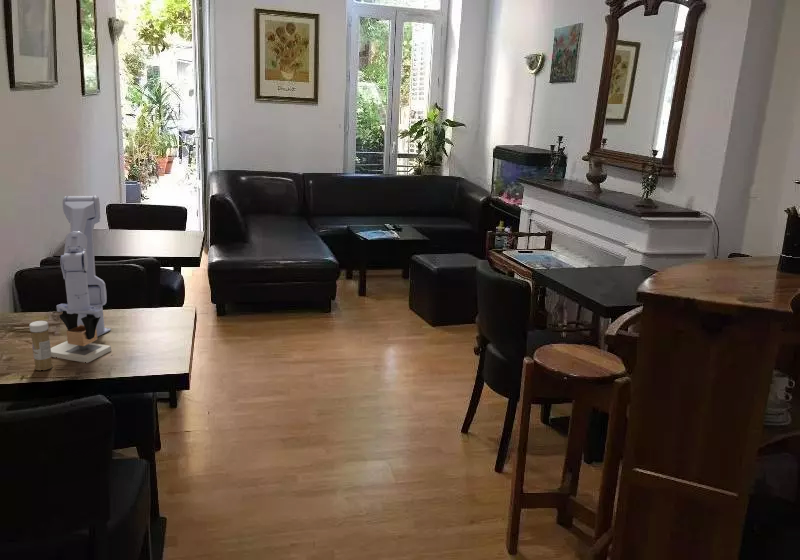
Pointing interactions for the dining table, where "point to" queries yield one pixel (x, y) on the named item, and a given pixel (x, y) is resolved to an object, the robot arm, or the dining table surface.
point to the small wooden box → (79, 336)
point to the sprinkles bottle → (41, 345)
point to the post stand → (79, 351)
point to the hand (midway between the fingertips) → (82, 337)
